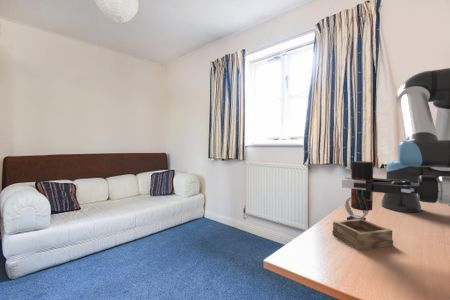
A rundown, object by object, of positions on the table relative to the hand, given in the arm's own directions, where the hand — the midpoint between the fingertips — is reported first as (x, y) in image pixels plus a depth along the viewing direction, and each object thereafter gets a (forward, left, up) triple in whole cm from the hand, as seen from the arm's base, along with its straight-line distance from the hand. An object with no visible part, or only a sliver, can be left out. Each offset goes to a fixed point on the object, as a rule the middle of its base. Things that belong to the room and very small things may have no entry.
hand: (344, 181), depth 76 cm
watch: (-12, -7, -19) cm, 23 cm away
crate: (-3, +4, -18) cm, 19 cm away
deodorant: (-3, +4, -8) cm, 10 cm away
